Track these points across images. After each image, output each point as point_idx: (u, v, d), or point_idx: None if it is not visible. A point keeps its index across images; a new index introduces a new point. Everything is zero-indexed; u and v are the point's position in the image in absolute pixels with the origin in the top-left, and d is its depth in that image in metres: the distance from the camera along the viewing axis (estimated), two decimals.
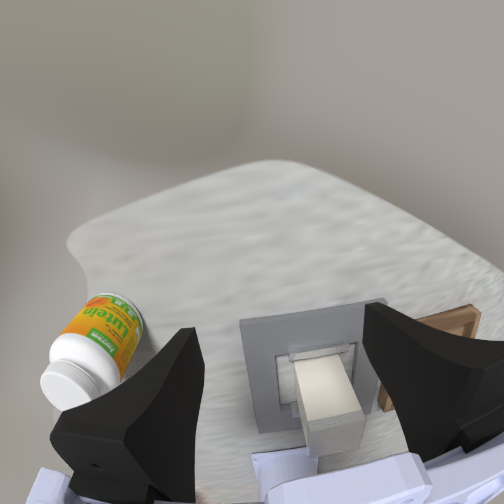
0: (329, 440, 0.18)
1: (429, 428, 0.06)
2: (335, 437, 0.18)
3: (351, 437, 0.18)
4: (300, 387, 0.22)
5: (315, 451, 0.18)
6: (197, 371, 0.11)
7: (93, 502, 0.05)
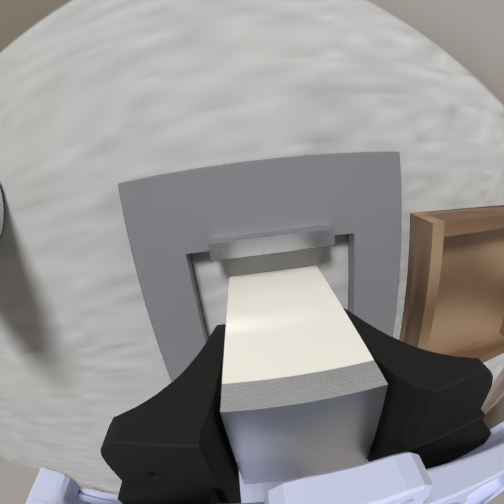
0: (286, 445, 0.07)
1: (383, 444, 0.06)
2: (303, 438, 0.07)
3: (348, 438, 0.07)
4: (228, 314, 0.11)
5: (254, 469, 0.07)
6: None
7: None
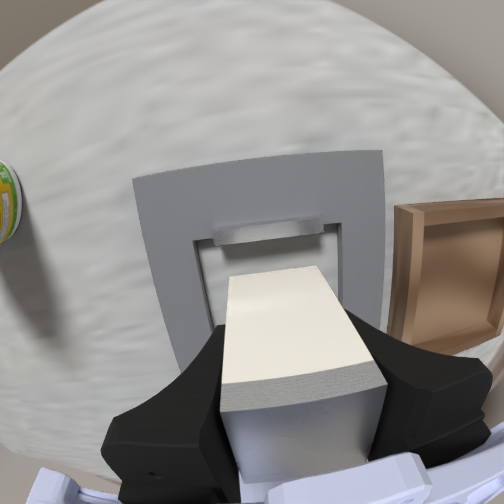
0: (286, 444, 0.07)
1: (383, 444, 0.06)
2: (303, 438, 0.07)
3: (347, 438, 0.07)
4: (228, 314, 0.11)
5: (254, 468, 0.07)
6: None
7: None
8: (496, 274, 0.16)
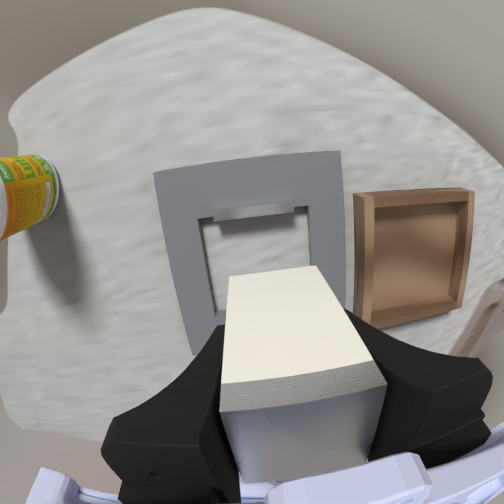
0: (286, 444, 0.07)
1: (383, 444, 0.06)
2: (303, 438, 0.07)
3: (347, 438, 0.07)
4: (228, 314, 0.11)
5: (254, 468, 0.07)
6: None
7: None
8: (453, 253, 0.21)
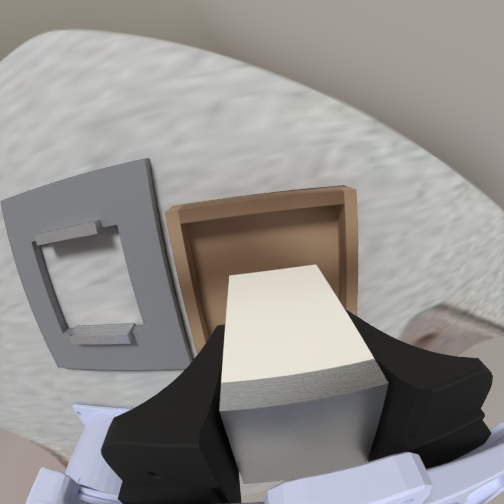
0: (286, 444, 0.07)
1: (383, 444, 0.06)
2: (304, 438, 0.07)
3: (348, 438, 0.07)
4: (228, 313, 0.11)
5: (254, 468, 0.07)
6: None
7: None
8: (337, 275, 0.18)
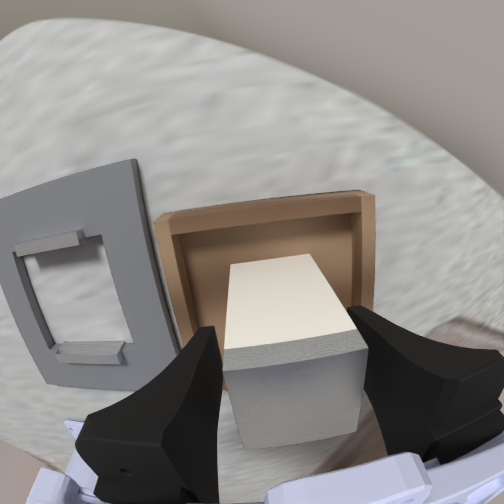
0: (281, 406, 0.08)
1: (406, 437, 0.06)
2: (296, 399, 0.08)
3: (337, 401, 0.08)
4: (229, 295, 0.12)
5: (253, 432, 0.08)
6: (217, 369, 0.11)
7: None
8: (350, 291, 0.16)
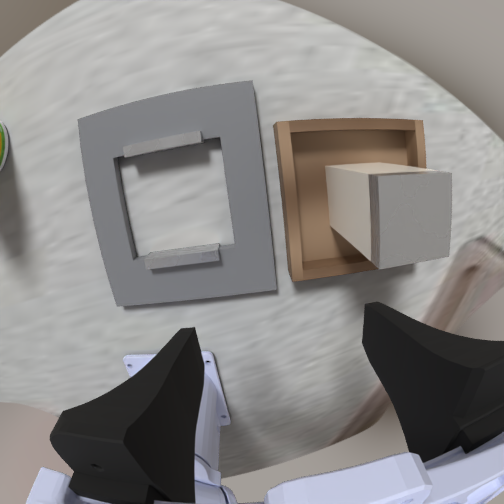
0: (408, 214, 0.11)
1: (429, 428, 0.06)
2: (417, 209, 0.11)
3: (438, 217, 0.12)
4: (342, 169, 0.15)
5: (389, 244, 0.12)
6: (197, 371, 0.11)
7: (93, 502, 0.05)
8: None
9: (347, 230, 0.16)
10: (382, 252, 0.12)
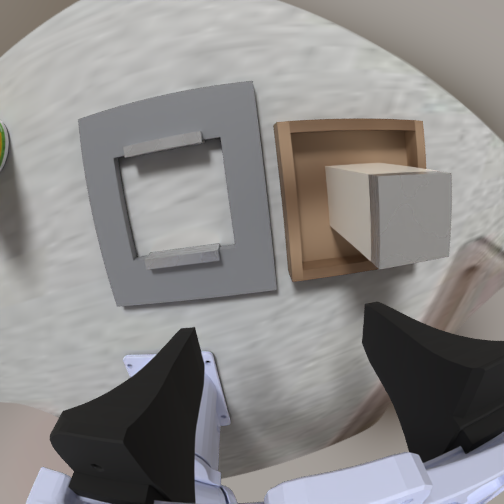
0: (408, 214, 0.11)
1: (429, 428, 0.06)
2: (417, 209, 0.11)
3: (438, 217, 0.12)
4: (342, 170, 0.15)
5: (389, 244, 0.12)
6: (197, 371, 0.11)
7: (93, 502, 0.05)
8: None
9: (347, 230, 0.16)
10: (382, 252, 0.12)
